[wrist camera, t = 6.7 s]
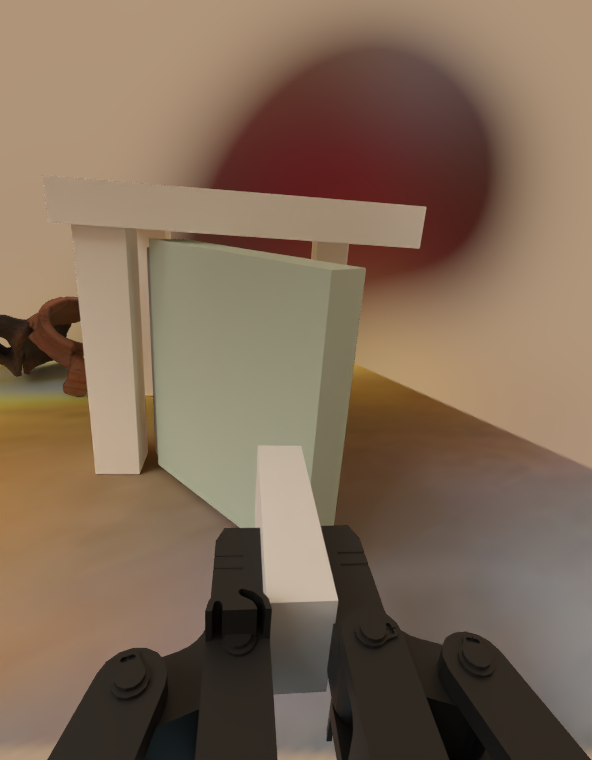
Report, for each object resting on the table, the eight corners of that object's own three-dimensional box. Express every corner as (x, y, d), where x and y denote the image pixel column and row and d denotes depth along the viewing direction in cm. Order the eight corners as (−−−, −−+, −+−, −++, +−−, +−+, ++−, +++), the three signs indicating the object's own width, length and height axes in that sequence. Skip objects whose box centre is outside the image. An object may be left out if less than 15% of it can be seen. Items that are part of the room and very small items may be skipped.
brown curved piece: (110, 360, 47) (134, 299, 42) (120, 430, 41) (149, 369, 37) (-31, 341, 40) (-19, 265, 35) (-41, 424, 34) (-29, 346, 30)
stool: (77, 481, 25) (42, 175, 20) (138, 381, 40) (128, 190, 35) (381, 480, 28) (426, 206, 22) (333, 386, 43) (352, 208, 37)
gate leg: (149, 457, 28) (138, 236, 23) (177, 447, 29) (172, 237, 24) (301, 575, 20) (331, 269, 15) (330, 554, 21) (366, 268, 16)
